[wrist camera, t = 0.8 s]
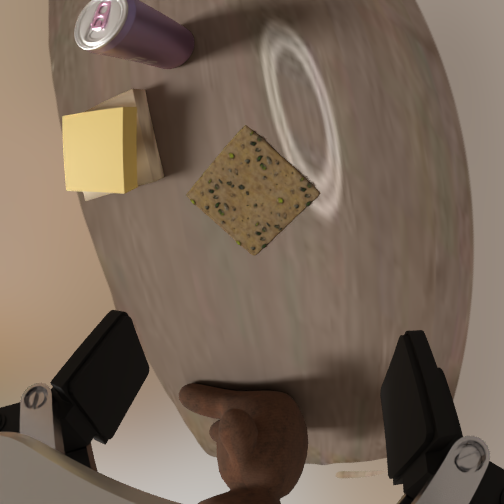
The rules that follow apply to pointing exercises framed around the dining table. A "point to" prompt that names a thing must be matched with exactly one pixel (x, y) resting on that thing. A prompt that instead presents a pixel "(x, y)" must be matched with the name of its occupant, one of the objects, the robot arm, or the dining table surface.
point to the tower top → (101, 150)
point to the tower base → (137, 138)
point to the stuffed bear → (252, 441)
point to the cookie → (251, 191)
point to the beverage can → (133, 33)
